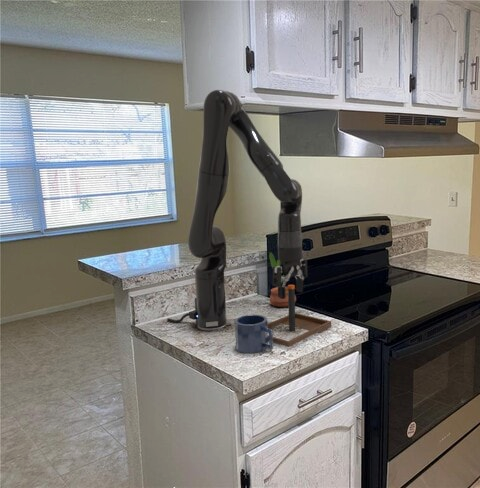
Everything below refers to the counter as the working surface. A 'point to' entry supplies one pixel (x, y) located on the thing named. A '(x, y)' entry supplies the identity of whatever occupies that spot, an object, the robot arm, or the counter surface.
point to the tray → (301, 322)
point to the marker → (291, 307)
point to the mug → (252, 334)
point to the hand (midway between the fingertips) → (291, 295)
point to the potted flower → (274, 293)
